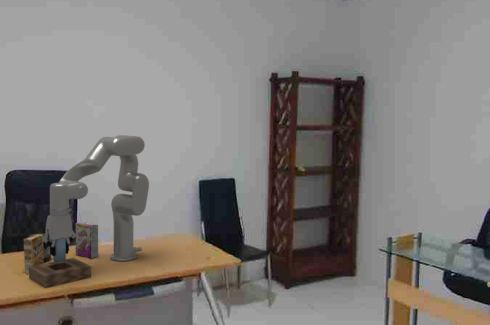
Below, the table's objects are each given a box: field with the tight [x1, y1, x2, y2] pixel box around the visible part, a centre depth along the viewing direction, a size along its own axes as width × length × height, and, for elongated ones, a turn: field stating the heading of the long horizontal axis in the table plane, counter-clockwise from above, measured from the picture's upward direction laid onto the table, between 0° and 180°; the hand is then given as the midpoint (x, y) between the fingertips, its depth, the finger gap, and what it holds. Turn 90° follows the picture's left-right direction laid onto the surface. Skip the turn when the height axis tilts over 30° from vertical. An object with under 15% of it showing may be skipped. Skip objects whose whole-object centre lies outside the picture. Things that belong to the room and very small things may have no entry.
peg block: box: [28, 257, 92, 289], centre depth 210 cm, size 20×16×5 cm
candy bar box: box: [74, 221, 99, 259], centre depth 242 cm, size 11×5×16 cm, turn 59°
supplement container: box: [28, 232, 52, 263], centre depth 234 cm, size 10×10×12 cm
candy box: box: [23, 233, 45, 274], centre depth 219 cm, size 9×4×15 cm, turn 171°
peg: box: [52, 238, 67, 262], centre depth 209 cm, size 5×5×10 cm
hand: (59, 253), depth 210 cm, fingers closed on peg, 5 cm apart
